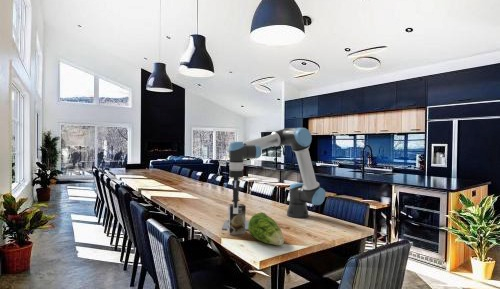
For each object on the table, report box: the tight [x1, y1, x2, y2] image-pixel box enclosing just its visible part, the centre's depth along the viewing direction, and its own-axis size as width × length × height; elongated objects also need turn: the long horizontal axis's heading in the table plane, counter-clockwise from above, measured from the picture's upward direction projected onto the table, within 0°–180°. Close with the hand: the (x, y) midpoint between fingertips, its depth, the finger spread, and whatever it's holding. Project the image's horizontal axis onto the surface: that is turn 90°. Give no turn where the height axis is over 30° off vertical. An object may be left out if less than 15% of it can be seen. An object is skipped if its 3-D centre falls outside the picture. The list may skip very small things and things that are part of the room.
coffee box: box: [227, 203, 247, 236], centre depth 171 cm, size 9×6×16 cm
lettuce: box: [248, 212, 285, 246], centre depth 157 cm, size 14×23×13 cm, turn 34°
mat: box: [221, 219, 250, 232], centre depth 185 cm, size 18×18×1 cm
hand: (235, 213), depth 163 cm, fingers closed
